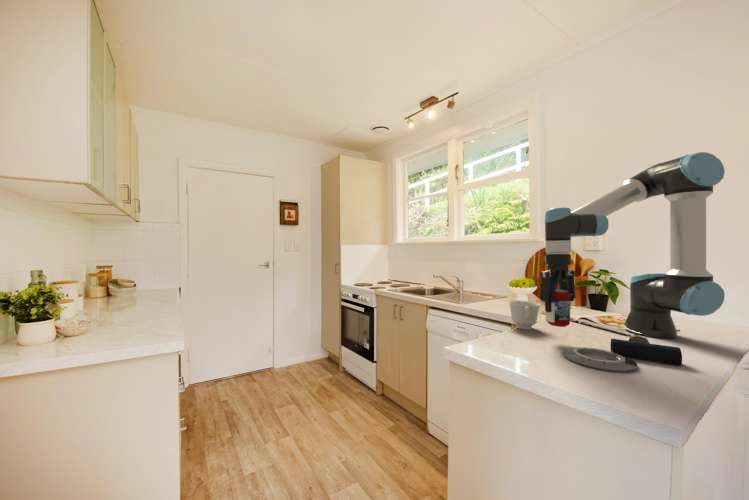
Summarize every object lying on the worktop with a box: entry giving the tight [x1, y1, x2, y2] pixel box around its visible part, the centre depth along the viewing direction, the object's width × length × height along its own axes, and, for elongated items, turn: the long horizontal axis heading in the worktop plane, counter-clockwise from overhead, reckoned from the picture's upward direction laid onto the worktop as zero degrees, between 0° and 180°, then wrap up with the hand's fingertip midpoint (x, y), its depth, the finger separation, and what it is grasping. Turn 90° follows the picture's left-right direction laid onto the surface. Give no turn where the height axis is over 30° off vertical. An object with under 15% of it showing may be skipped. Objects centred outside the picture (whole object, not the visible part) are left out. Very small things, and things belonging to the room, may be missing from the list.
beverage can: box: [546, 288, 571, 328], centre depth 103 cm, size 7×7×12 cm
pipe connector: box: [610, 335, 683, 367], centre depth 91 cm, size 12×5×15 cm
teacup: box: [507, 300, 542, 330], centre depth 121 cm, size 12×15×10 cm
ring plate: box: [562, 346, 638, 374], centre depth 87 cm, size 17×17×2 cm
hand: (558, 320), depth 103 cm, fingers closed on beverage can, 7 cm apart
